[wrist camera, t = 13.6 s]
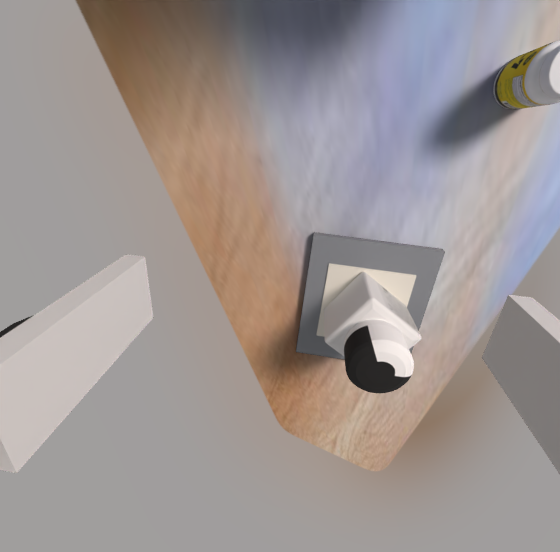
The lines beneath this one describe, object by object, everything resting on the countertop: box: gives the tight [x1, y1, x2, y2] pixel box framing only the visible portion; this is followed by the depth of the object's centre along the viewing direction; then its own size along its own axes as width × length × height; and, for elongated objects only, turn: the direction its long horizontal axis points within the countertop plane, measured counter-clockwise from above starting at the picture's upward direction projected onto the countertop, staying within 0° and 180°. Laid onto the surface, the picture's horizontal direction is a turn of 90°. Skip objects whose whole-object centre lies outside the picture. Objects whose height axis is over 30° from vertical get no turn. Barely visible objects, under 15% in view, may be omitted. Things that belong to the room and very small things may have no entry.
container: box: [324, 272, 421, 393], centre depth 37 cm, size 8×8×13 cm
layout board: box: [296, 232, 445, 359], centre depth 43 cm, size 18×16×1 cm
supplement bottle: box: [493, 40, 560, 109], centre depth 28 cm, size 5×5×8 cm
